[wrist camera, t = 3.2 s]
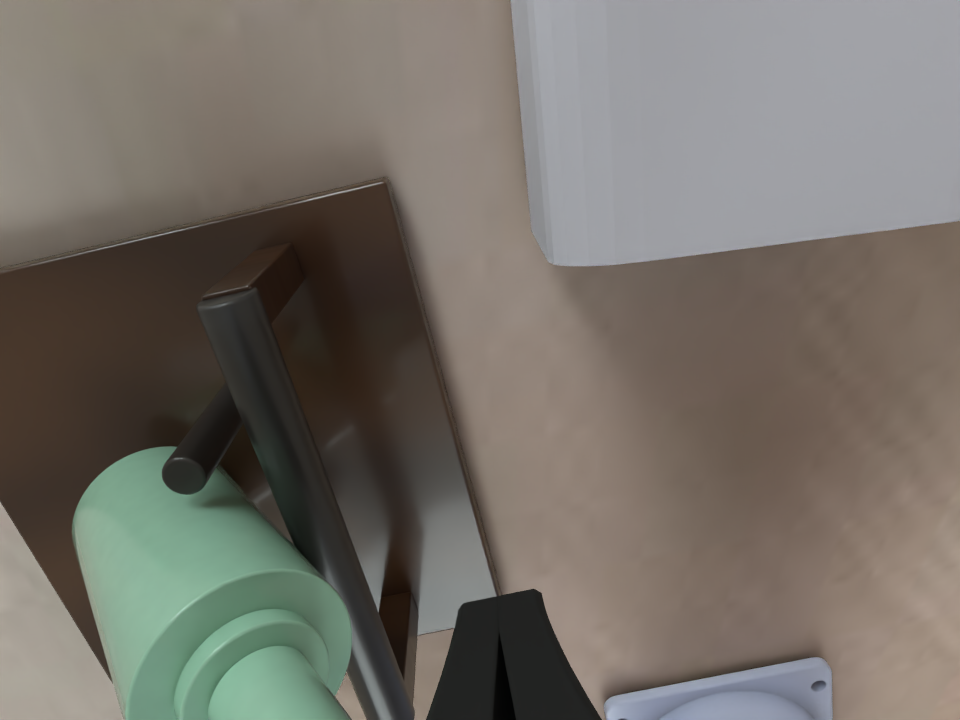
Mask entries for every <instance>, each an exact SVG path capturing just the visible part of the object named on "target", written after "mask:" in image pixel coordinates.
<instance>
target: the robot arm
mask: <svg viewBox="0 0 960 720" xmlns="http://www.w3.org/2000/svg"><path fill="white" fill-rule="evenodd" d="M604 712H605V717H606V720H833V707H832V670H831V668H830V666H829V665H828V663H827V662H826V661H825V660H824V659H823V658H819V657H812V658H807V659H802V660H796V661H791V662H786V663H781V664H776V665H771V666H765V667H760V668H755V669H750V670H745V671H740V672H734V673H729V674H724V675H719V676H714V677H709V678H703V679H698V680H693V681H688V682H683V683H678V684H672V685H667V686H662V687H657V688H652V689H647V690H641V691H636V692H631V693H626V694H621V695H616V696H613V697H610V698H609V699H608V700H606V702H605V703H604ZM426 720H602V719H601V718H600V716H599V714H598V713H597V711H596V710H595V708H594V706H593V705H592V703H591V701H590V700H589V698H588V696H587V695H586V693H585V691H584V689H583V687H582V686H581V684H580V682H579V680H578V679H577V677H576V675H575V673H574V671H573V670H572V668H571V666H570V664H569V662H568V660H567V658H566V656H565V654H564V652H563V650H562V648H561V646H560V644H559V642H558V640H557V638H556V635H555V633H554V631H553V628H552V626H551V624H550V621H549V618H548V616H547V613H546V609H545V606H544V602H543V597H542V593H540V592H539V591H537V590H535V589H531V590H526V591H521V592H516V593H511V594H506V595H501V596H496V597H491V598H486V599H481V600H476V601H471V602H466V603H463V604H462V605H461V607H460V608H459V609H458V614H457V619H456V624H455V628H454V632H453V636H452V640H451V644H450V648H449V651H448V655H447V658H446V661H445V665H444V668H443V671H442V675H441V678H440V681H439V684H438V687H437V690H436V692H435V695H434V698H433V701H432V704H431V707H430V710H429V713H428V716H427V719H426Z"/></svg>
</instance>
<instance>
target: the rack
mask: <svg viewBox="0 0 960 720" xmlns="http://www.w3.org/2000/svg"><path fill="white" fill-rule="evenodd" d="M167 446H174V447H177V448H176V449H175V451H174V452H173V453H172V455H171V456H170V457H169V459H168V460H167V461H166V463H165V464H164V466H163V468H162V479H163V482H164V483H165V485H166V486H167V487H168V488H169V489H170V490H172V491H174V492H176V493H178V494H183V495H190V494H194V493H197V492H199V491H201V490H202V489H203V488H204V487H205V485H206V484H207V482H208V480H209V479H210V477H211V475H212V474H213V472H214V470H215V469H216V467H217V466H218V464H219V465H220V466H221V467H222V468H223V469H224V470H225V471H226V472H227V473H228V474H229V475H230V476H231V478H232V479H233V480H234V481H235V482H236V483H237V484H238V485H239V486H240V487H241V488H242V489H243V490H244V492H245V493H246V494H247V495H248V496H249V497H250V498H251V499H252V500H253V501H254V502H255V503H256V505H257V506H258V507H259V508H260V509H261V510H262V511H263V512H264V513H265V514H266V515H267V516H268V517H269V519H270V520H271V521H272V522H273V523H274V524H275V525H276V526H277V527H278V528H279V529H280V530H281V532H282V533H283V534H284V535H285V536H286V537H287V538H288V539H289V540H290V541H291V542H292V543H293V544H294V546H295V547H296V548H297V549H298V550H299V551H300V552H301V553H302V554H303V555H304V556H305V557H306V559H307V560H308V561H309V562H310V563H311V564H312V565H313V566H314V567H315V568H316V569H317V570H318V571H319V573H320V574H321V575H322V576H323V577H324V578H325V579H326V580H327V581H328V582H329V583H330V584H331V586H332V587H333V588H334V589H335V590H336V591H337V592H338V594H339V595H340V596H341V598H342V599H343V601H344V603H345V605H346V607H347V610H348V613H349V616H350V620H351V627H352V648H351V656H350V660H349V664H348V668H347V673H348V676H349V678H350V681H351V683H352V685H353V688H354V690H355V693H356V695H357V697H358V700H359V702H360V705H361V707H362V709H363V712H364V714H365V717H366V719H367V720H414V716H415V710H414V707H413V698H414V682H415V665H416V649H417V636H419V635H424V634H429V633H434V632H439V631H444V630H449V629H454V628H455V624H456V619H457V614H458V609H459V608H460V607H461V605H462V604H463V603H466V602H471V601H476V600H481V599H486V598H491V597H496V596H501V591H500V587H499V584H498V580H497V576H496V572H495V569H494V565H493V561H492V558H491V554H490V550H489V547H488V543H487V539H486V536H485V532H484V528H483V524H482V521H481V517H480V513H479V510H478V506H477V502H476V499H475V495H474V491H473V487H472V484H471V480H470V476H469V473H468V469H467V465H466V462H465V458H464V454H463V451H462V447H461V443H460V439H459V436H458V432H457V428H456V425H455V421H454V417H453V414H452V410H451V406H450V402H449V399H448V395H447V391H446V388H445V384H444V380H443V377H442V373H441V369H440V366H439V362H438V358H437V354H436V351H435V347H434V343H433V340H432V336H431V332H430V329H429V325H428V321H427V317H426V314H425V310H424V306H423V303H422V299H421V295H420V292H419V288H418V284H417V281H416V277H415V273H414V269H413V266H412V262H411V258H410V255H409V251H408V247H407V244H406V240H405V236H404V232H403V229H402V225H401V221H400V218H399V214H398V210H397V207H396V203H395V199H394V196H393V192H392V188H391V184H390V181H389V179H388V178H387V177H383V178H379V179H374V180H370V181H366V182H362V183H357V184H353V185H349V186H345V187H341V188H336V189H332V190H328V191H324V192H319V193H315V194H311V195H307V196H303V197H298V198H294V199H290V200H286V201H281V202H277V203H273V204H269V205H265V206H260V207H256V208H252V209H248V210H243V211H239V212H235V213H231V214H227V215H222V216H218V217H214V218H210V219H205V220H201V221H197V222H193V223H189V224H184V225H180V226H176V227H172V228H167V229H163V230H159V231H155V232H151V233H146V234H142V235H138V236H134V237H130V238H125V239H121V240H117V241H113V242H108V243H104V244H100V245H96V246H92V247H87V248H83V249H79V250H75V251H70V252H66V253H62V254H58V255H54V256H49V257H45V258H41V259H37V260H32V261H28V262H24V263H20V264H16V265H11V266H7V267H3V268H0V502H1V504H2V505H3V507H4V508H5V510H6V512H7V513H8V515H9V516H10V518H11V520H12V521H13V523H14V525H15V526H16V528H17V529H18V531H19V533H20V534H21V536H22V537H23V539H24V541H25V542H26V544H27V546H28V547H29V549H30V550H31V552H32V554H33V555H34V557H35V559H36V560H37V562H38V563H39V565H40V567H41V568H42V570H43V571H44V573H45V575H46V576H47V578H48V580H49V581H50V583H51V584H52V586H53V588H54V589H55V591H56V593H57V594H58V596H59V597H60V599H61V601H62V602H63V604H64V605H65V607H66V609H67V610H68V612H69V614H70V615H71V617H72V618H73V620H74V622H75V623H76V625H77V627H78V628H79V630H80V631H81V633H82V635H83V636H84V638H85V639H86V641H87V643H88V644H89V646H90V648H91V649H92V651H93V652H94V654H95V656H96V657H97V659H98V660H99V662H100V664H101V665H102V667H103V669H104V670H105V672H106V673H107V675H108V677H109V678H110V680H111V682H112V683H113V681H112V678H111V675H110V671H109V668H108V664H107V661H106V657H105V654H104V650H103V647H102V643H101V640H100V636H99V633H98V629H97V626H96V622H95V619H94V615H93V612H92V608H91V605H90V602H89V598H88V595H87V591H86V588H85V584H84V581H83V577H82V574H81V570H80V567H79V563H78V560H77V556H76V553H75V549H74V546H73V541H72V522H73V518H74V514H75V511H76V508H77V505H78V503H79V501H80V499H81V497H82V496H83V494H84V492H85V491H86V489H87V488H88V487H89V485H90V484H91V483H92V482H93V481H94V480H95V479H96V478H97V476H98V475H100V474H101V473H102V472H103V471H104V470H105V469H107V468H108V467H109V466H111V465H112V464H114V463H115V462H117V461H119V460H121V459H122V458H124V457H126V456H128V455H131V454H133V453H136V452H139V451H142V450H146V449H150V448H156V447H167Z"/></svg>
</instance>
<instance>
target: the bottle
mask: <svg viewBox="0 0 960 720" xmlns="http://www.w3.org/2000/svg"><path fill="white" fill-rule="evenodd" d="M176 448H177V447H174V446H167V447H156V448H150V449H146V450H142V451H139V452H136V453H133V454H131V455H128V456H126V457H124V458H122V459H121V460H119V461H117V462H115V463H114V464H112V465H111V466H109V467H108V468H107V469H105V470H104V471H103V472H102V473H101V474H100V475H98V476H97V478H96V479H95V480H94V481H93V482H92V483H91V484H90V485H89V487H88V488H87V489H86V491H85V492H84V494H83V496H82V497H81V499H80V501H79V503H78V505H77V508H76V511H75V514H74V518H73V522H72V541H73V546H74V549H75V553H76V556H77V560H78V563H79V567H80V570H81V574H82V577H83V581H84V584H85V588H86V591H87V595H88V598H89V602H90V605H91V608H92V612H93V615H94V619H95V622H96V626H97V629H98V633H99V636H100V640H101V643H102V647H103V650H104V654H105V657H106V661H107V664H108V668H109V671H110V675H111V678H112V681H113V685H114V688H115V692H116V695H117V699H118V702H119V706H120V709H121V713H122V716H123V720H352V719H351V718H350V716H349V715H348V714H347V712H346V711H345V710H344V708H343V707H342V705H341V704H340V703H339V701H338V700H337V699H336V697H335V695H336V694H337V692H338V690H339V687H340V685H341V683H342V681H343V679H344V676H345V673H346V671H347V668H348V664H349V660H350V656H351V648H352V627H351V620H350V616H349V613H348V610H347V607H346V605H345V603H344V601H343V599H342V598H341V596H340V595H339V594H338V592H337V591H336V590H335V589H334V588H333V587H332V586H331V584H330V583H329V582H328V581H327V580H326V579H325V578H324V577H323V576H322V575H321V574H320V573H319V571H318V570H317V569H316V568H315V567H314V566H313V565H312V564H311V563H310V562H309V561H308V560H307V559H306V557H305V556H304V555H303V554H302V553H301V552H300V551H299V550H298V549H297V548H296V547H295V546H294V544H293V543H292V542H291V541H290V540H289V539H288V538H287V537H286V536H285V535H284V534H283V533H282V532H281V530H280V529H279V528H278V527H277V526H276V525H275V524H274V523H273V522H272V521H271V520H270V519H269V517H268V516H267V515H266V514H265V513H264V512H263V511H262V510H261V509H260V508H259V507H258V506H257V505H256V503H255V502H254V501H253V500H252V499H251V498H250V497H249V496H248V495H247V494H246V493H245V492H244V490H243V489H242V488H241V487H240V486H239V485H238V484H237V483H236V482H235V481H234V480H233V479H232V478H231V476H230V475H229V474H228V473H227V472H226V471H225V470H224V469H223V468H222V467H221V466H220V465H219V464H218V466H217V467H216V469H215V470H214V472H213V474H212V475H211V477H210V479H209V480H208V482H207V484H206V485H205V487H204V488H203V489H202V490H201V491H199V492H197V493H194V494H190V495H183V494H178V493H176V492H174V491H172V490H170V489H169V488H168V487H167V486H166V485H165V483H164V482H163V479H162V468H163V466H164V464H165V463H166V461H167V460H168V459H169V457H170V456H171V455H172V453H173V452H174V451H175V449H176Z"/></svg>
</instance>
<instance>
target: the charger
mask: <svg viewBox="0 0 960 720" xmlns="http://www.w3.org/2000/svg"><path fill="white" fill-rule="evenodd" d="M510 1H511V12H512V23H513V34H514V45H515V56H516V67H517V78H518V89H519V100H520V111H521V122H522V133H523V144H524V155H525V166H526V177H527V188H528V199H529V210H530V221H531V231H532V233H533V235H534V237H535V239H536V240H537V242H538V244H539V246H540V248H541V250H542V252H543V253H544V255H545V257H546V259H547V261H548V262H549V263H552V264H554V265H562V266H601V265H617V264H627V263H636V262H645V261H653V260H661V259H669V258H676V257H684V256H692V255H700V254H707V253H715V252H723V251H731V250H738V249H746V248H754V247H762V246H770V245H777V244H785V243H793V242H801V241H808V240H816V239H824V238H832V237H839V236H847V235H855V234H863V233H870V232H878V231H886V230H894V229H901V228H909V227H917V226H925V225H933V224H940V223H948V222H955V221H960V0H510Z"/></svg>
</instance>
